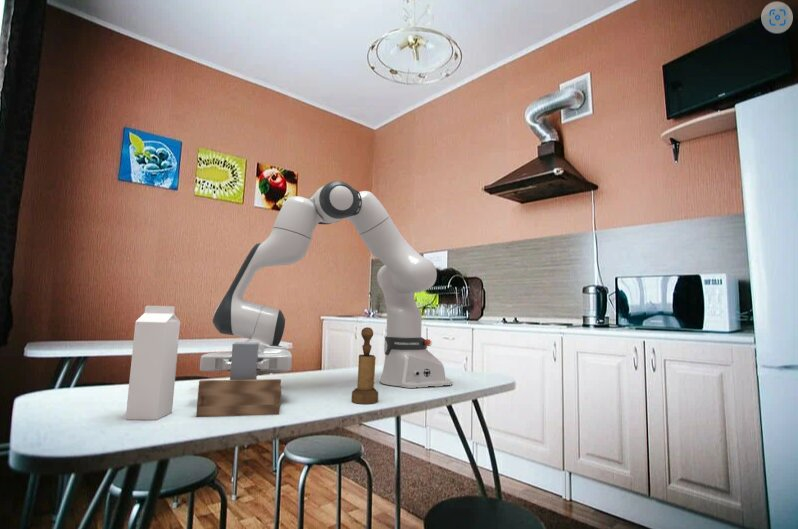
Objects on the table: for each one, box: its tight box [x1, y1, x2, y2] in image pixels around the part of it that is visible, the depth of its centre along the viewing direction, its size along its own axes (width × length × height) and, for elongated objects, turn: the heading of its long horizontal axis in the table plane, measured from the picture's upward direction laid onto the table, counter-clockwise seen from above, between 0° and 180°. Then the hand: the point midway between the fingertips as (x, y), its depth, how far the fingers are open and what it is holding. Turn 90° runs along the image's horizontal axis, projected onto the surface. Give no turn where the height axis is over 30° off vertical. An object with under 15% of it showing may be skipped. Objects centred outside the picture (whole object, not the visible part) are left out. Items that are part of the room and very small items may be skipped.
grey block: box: [229, 341, 259, 380], centre depth 90 cm, size 5×5×11 cm
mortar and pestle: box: [351, 327, 379, 405], centre depth 101 cm, size 7×6×18 cm
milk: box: [125, 305, 181, 421], centre depth 83 cm, size 6×6×22 cm
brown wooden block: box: [195, 378, 283, 418], centre depth 92 cm, size 16×16×7 cm
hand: (244, 366), depth 89 cm, fingers closed on grey block, 5 cm apart
